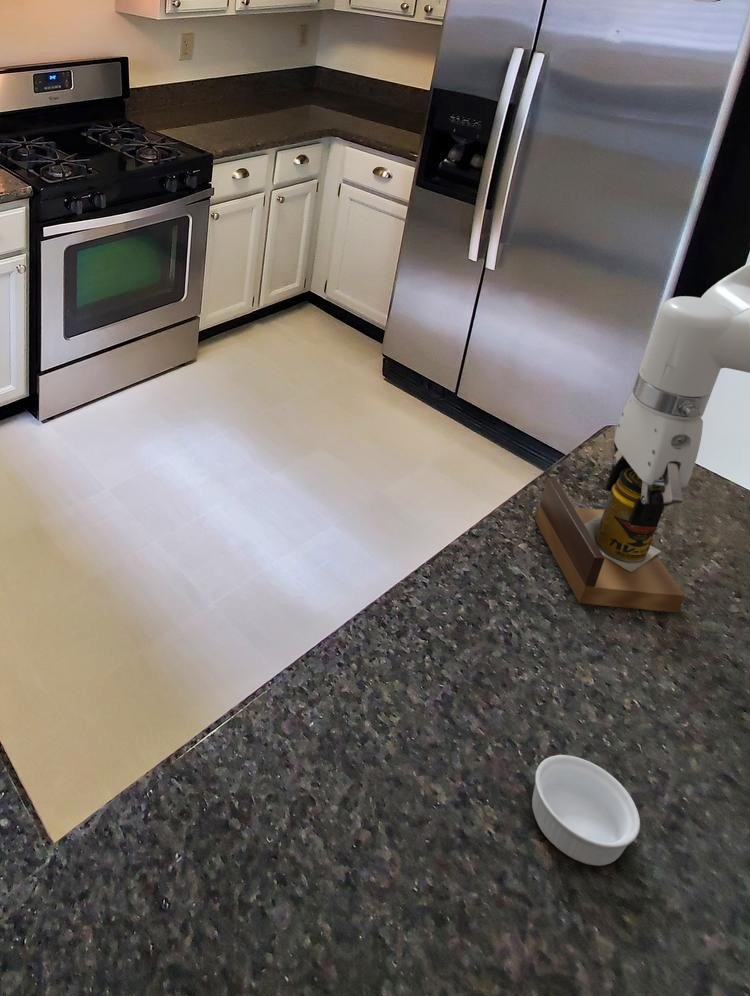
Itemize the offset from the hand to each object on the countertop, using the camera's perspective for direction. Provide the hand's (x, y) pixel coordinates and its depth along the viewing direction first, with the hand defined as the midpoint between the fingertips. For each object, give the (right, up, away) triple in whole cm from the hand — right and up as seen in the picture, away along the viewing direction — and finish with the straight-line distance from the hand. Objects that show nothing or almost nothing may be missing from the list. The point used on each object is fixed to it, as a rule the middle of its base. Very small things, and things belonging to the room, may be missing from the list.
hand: (630, 506), depth 106 cm
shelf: (-1, -9, +4) cm, 10 cm away
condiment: (0, -6, +4) cm, 7 cm away
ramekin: (-24, -25, -27) cm, 44 cm away
